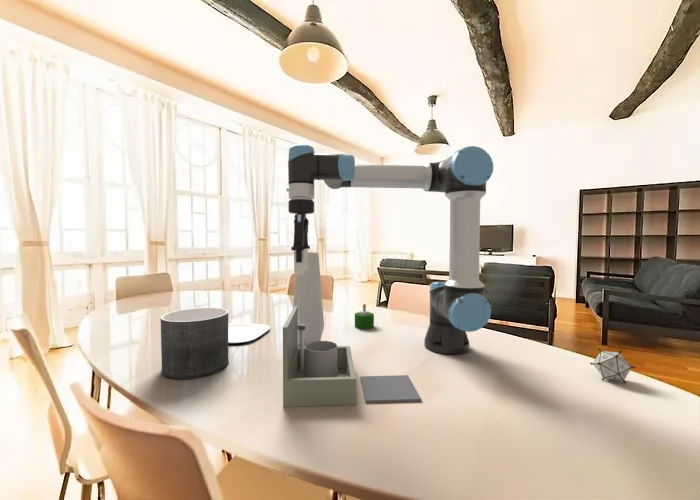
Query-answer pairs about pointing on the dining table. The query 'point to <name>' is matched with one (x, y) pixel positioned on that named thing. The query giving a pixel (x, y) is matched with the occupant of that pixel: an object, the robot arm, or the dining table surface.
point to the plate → (245, 332)
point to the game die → (612, 365)
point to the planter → (194, 342)
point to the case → (313, 389)
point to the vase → (310, 300)
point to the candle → (364, 319)
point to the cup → (320, 359)
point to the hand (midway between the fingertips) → (301, 271)
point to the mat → (389, 389)
